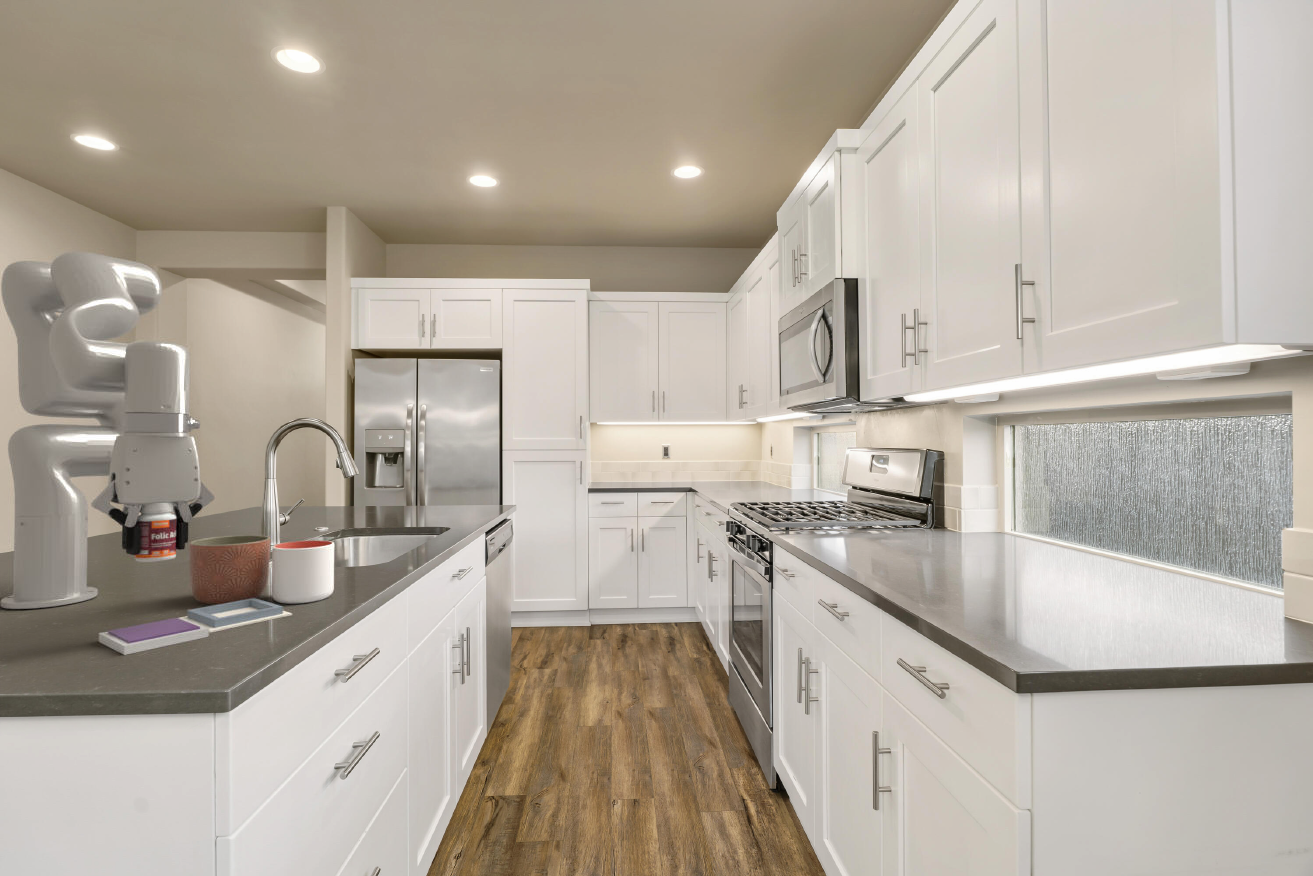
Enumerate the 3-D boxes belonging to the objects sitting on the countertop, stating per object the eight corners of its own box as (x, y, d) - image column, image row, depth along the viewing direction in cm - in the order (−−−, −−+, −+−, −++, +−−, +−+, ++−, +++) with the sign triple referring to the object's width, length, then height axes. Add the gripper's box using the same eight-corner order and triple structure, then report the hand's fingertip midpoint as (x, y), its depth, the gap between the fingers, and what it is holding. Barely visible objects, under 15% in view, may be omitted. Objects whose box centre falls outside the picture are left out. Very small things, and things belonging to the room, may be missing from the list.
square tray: (177, 619, 103) (177, 610, 103) (257, 604, 113) (257, 596, 113) (210, 632, 96) (210, 622, 96) (292, 615, 106) (292, 606, 106)
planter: (192, 612, 108) (193, 547, 108) (185, 598, 117) (185, 538, 117) (276, 600, 116) (276, 540, 116) (263, 588, 125) (263, 533, 126)
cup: (273, 595, 120) (274, 542, 120) (333, 590, 125) (334, 539, 125) (269, 608, 111) (270, 550, 111) (333, 601, 116) (334, 546, 116)
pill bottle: (153, 563, 90) (154, 503, 90) (126, 561, 91) (126, 503, 91) (184, 557, 95) (185, 500, 95) (158, 555, 96) (158, 500, 96)
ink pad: (98, 641, 92) (99, 631, 92) (180, 625, 100) (180, 615, 100) (124, 655, 86) (124, 643, 86) (208, 636, 94) (208, 626, 94)
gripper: (211, 428, 102) (210, 541, 102) (72, 425, 88) (71, 557, 88) (233, 427, 98) (232, 546, 98) (91, 424, 84) (89, 563, 84)
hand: (155, 549), depth 93 cm, fingers closed on pill bottle, 4 cm apart
